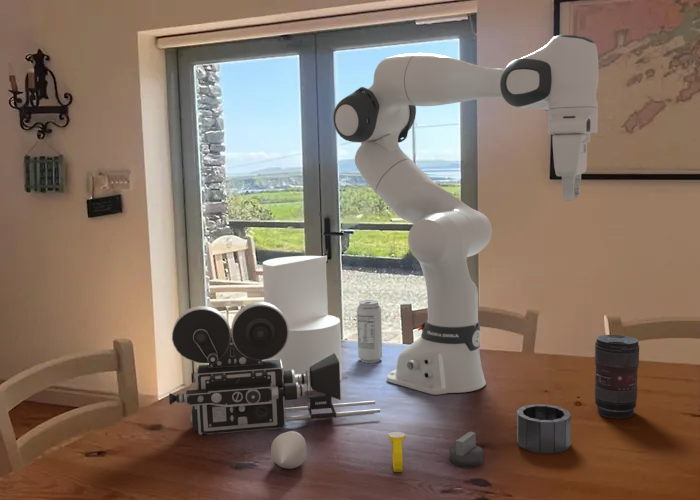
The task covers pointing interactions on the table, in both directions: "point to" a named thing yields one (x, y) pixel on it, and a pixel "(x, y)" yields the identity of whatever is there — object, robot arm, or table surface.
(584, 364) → the table surface
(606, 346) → the camera lens
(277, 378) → the film camera
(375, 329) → the energy drink can
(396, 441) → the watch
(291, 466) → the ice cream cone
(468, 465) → the grey dial knob
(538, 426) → the faceted grey ring
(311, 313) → the cylinder
